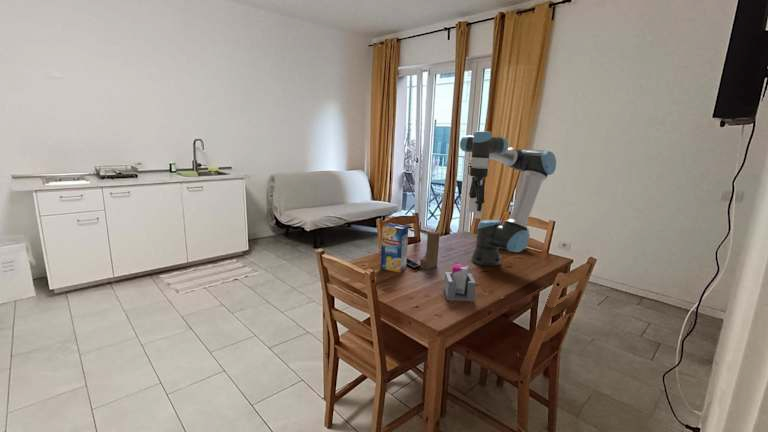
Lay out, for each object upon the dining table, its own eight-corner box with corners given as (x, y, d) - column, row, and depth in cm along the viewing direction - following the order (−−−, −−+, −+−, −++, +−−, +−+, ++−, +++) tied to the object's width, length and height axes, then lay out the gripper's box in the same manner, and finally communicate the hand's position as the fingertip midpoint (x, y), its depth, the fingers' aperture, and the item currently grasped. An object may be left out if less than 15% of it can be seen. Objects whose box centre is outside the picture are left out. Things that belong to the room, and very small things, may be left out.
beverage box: (400, 272, 179) (402, 228, 174) (380, 268, 184) (382, 225, 179) (406, 268, 185) (408, 226, 180) (386, 264, 190) (388, 222, 185)
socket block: (469, 290, 161) (470, 273, 160) (474, 301, 151) (476, 283, 149) (443, 289, 162) (445, 271, 160) (447, 299, 151) (448, 281, 149)
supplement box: (466, 290, 159) (469, 265, 156) (463, 295, 153) (466, 269, 151) (453, 288, 161) (455, 263, 158) (450, 292, 155) (452, 267, 153)
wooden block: (426, 270, 184) (429, 235, 180) (419, 267, 187) (421, 233, 183) (437, 266, 190) (440, 232, 187) (430, 263, 193) (432, 230, 190)
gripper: (465, 164, 173) (461, 209, 177) (476, 169, 148) (471, 220, 153) (481, 165, 173) (477, 210, 177) (495, 170, 148) (489, 221, 153)
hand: (474, 215), depth 165 cm, fingers open, 13 cm apart
